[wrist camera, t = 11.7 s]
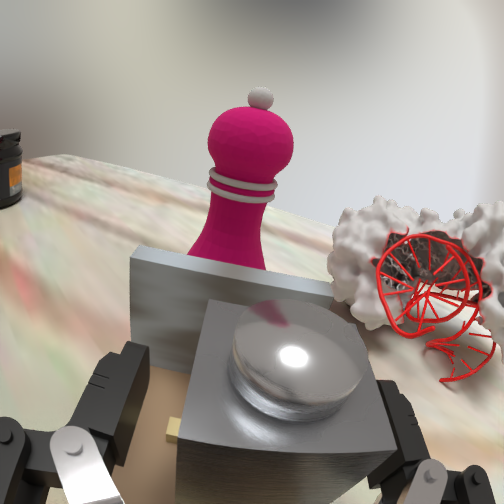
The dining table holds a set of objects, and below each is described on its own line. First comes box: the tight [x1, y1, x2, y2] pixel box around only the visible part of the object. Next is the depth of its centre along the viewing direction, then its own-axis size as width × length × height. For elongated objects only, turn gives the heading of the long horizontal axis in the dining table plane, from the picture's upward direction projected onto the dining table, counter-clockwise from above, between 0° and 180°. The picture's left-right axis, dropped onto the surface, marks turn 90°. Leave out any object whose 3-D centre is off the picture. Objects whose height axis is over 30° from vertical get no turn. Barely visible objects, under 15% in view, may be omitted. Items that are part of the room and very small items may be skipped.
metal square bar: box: [175, 299, 397, 504], centre depth 9 cm, size 4×4×12 cm
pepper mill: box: [187, 87, 294, 270], centre depth 23 cm, size 7×7×20 cm
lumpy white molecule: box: [327, 195, 504, 382], centre depth 27 cm, size 20×18×25 cm
